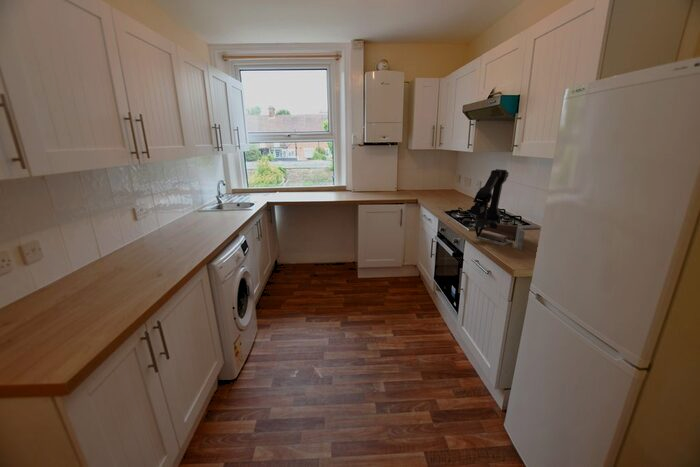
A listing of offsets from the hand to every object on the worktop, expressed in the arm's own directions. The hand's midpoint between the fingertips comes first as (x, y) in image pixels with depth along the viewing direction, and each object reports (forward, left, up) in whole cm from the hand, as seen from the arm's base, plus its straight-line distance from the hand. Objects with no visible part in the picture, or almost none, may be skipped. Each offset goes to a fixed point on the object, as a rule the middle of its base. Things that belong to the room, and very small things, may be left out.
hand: (477, 237), depth 181 cm
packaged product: (-3, +8, -2) cm, 9 cm away
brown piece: (-1, +11, -2) cm, 11 cm away
